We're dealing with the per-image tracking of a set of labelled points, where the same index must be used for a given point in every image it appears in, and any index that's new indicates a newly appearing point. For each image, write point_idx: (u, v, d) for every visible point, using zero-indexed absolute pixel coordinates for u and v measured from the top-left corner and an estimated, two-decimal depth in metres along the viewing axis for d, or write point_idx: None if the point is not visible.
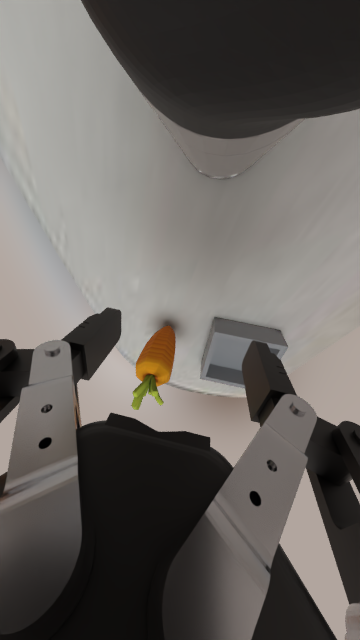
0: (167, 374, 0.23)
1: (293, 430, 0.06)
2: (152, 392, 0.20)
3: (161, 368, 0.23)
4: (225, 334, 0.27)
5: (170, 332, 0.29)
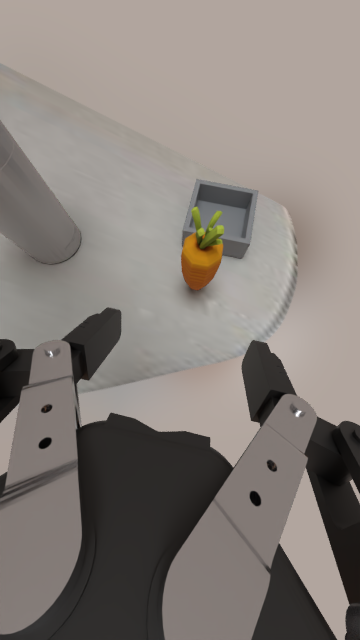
0: None
1: (294, 430, 0.06)
2: (193, 212, 0.18)
3: (191, 235, 0.21)
4: (185, 222, 0.30)
5: None
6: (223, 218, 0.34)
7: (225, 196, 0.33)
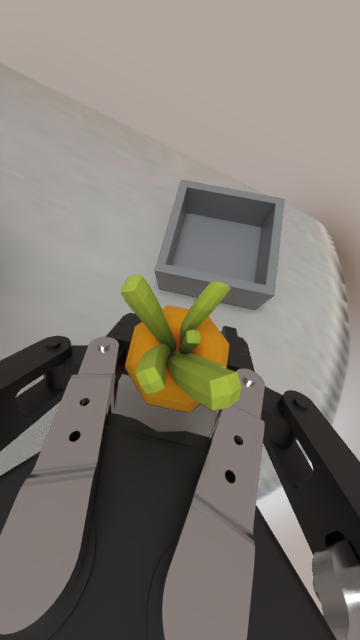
0: (171, 308, 0.09)
1: (249, 400, 0.07)
2: (128, 296, 0.05)
3: None
4: (160, 255, 0.17)
5: None
6: (225, 242, 0.21)
7: (229, 207, 0.20)
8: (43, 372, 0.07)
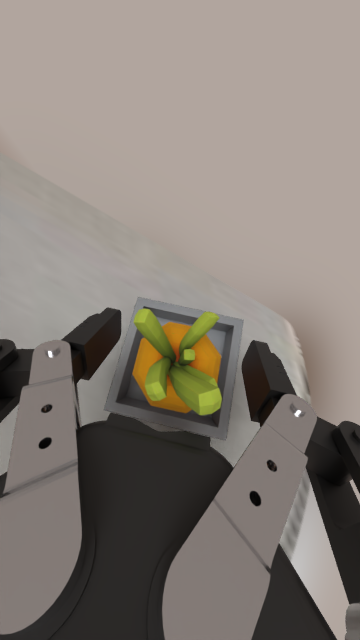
0: (172, 324, 0.10)
1: (294, 430, 0.06)
2: (139, 325, 0.07)
3: None
4: (111, 390, 0.16)
5: None
6: None
7: (189, 320, 0.20)
8: None
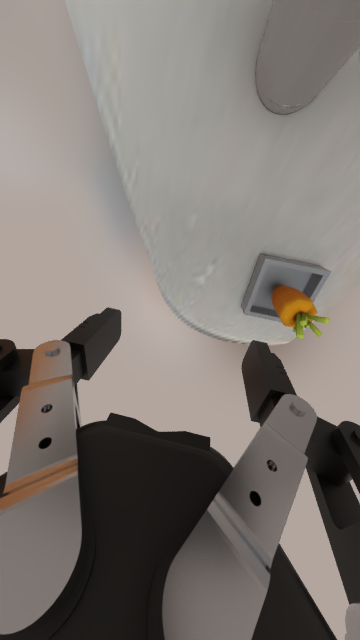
0: (315, 313, 0.26)
1: (293, 430, 0.06)
2: (324, 319, 0.23)
3: (313, 307, 0.26)
4: (275, 261, 0.31)
5: (291, 288, 0.32)
6: None
7: None
8: None
